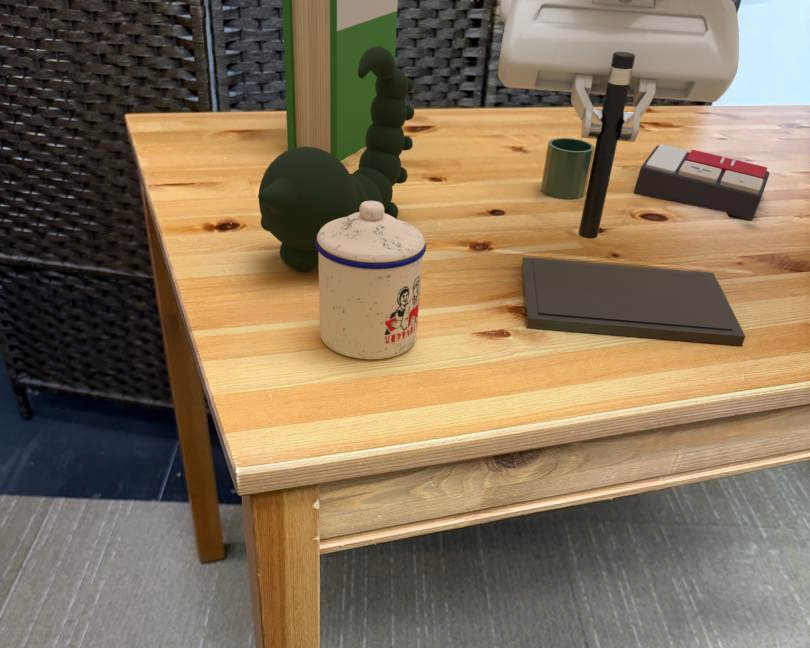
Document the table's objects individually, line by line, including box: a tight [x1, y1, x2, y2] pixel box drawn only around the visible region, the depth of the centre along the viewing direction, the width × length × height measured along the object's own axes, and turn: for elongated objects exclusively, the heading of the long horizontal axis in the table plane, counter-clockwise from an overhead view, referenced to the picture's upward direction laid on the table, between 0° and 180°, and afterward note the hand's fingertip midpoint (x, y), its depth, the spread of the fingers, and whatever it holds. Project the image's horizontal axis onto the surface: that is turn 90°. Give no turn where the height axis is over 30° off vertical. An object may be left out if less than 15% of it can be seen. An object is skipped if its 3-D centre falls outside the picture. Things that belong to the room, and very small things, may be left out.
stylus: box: [578, 52, 635, 240], centre depth 72 cm, size 2×2×15 cm
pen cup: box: [540, 137, 595, 201], centre depth 101 cm, size 6×6×6 cm
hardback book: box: [281, 0, 399, 162], centre depth 107 cm, size 18×7×24 cm, turn 156°
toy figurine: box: [257, 46, 415, 272], centre depth 81 cm, size 9×19×25 cm
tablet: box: [521, 256, 746, 347], centre depth 80 cm, size 20×14×1 cm
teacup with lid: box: [315, 201, 427, 360], centre depth 70 cm, size 12×9×12 cm
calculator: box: [633, 143, 771, 221], centre depth 104 cm, size 11×4×15 cm
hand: (609, 136), depth 70 cm, fingers closed on stylus, 2 cm apart
